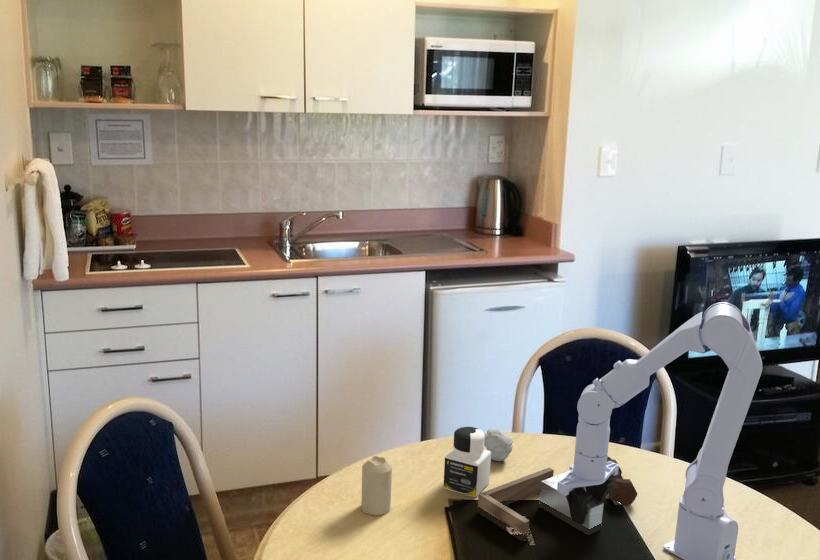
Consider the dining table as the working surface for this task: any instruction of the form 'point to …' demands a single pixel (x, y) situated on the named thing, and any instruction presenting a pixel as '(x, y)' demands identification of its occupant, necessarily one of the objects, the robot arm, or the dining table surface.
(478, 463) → the medicine bottle
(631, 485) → the bolt
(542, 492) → the bracket
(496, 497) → the corner jig
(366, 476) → the candle
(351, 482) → the dining table surface
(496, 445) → the grey rock
